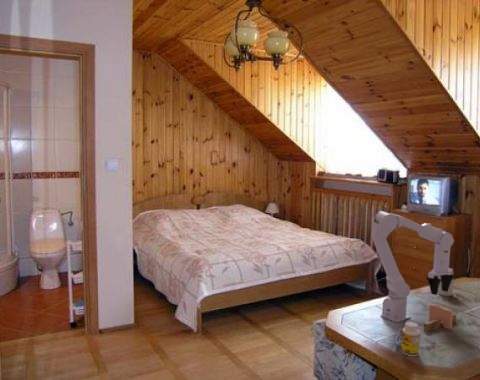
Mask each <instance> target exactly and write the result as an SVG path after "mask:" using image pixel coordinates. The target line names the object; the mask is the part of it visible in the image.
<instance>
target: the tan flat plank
mask: <svg viewBox="0 0 480 380" xmlns="http://www.w3.org/2000/svg"><path fill="white" fill-rule="evenodd" d="M453 312H454V311H453V310H451V309H448V308H445V307H442V306H438V305H436V304H433V303H431V304H429V313H428V322H430V321H432V320H435V319H438V318H439V319H441V322H443V326H442V327H443V328H445V329H448V330H451V329H453V323H452V318H453Z"/></svg>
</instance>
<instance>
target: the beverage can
mask: <svg viewBox="0 0 480 380" xmlns="http://www.w3.org/2000/svg"><path fill="white" fill-rule="evenodd" d="M452 275H454V276H455V274H454V273H453V274H452ZM438 279H441V277H440V276H438ZM453 287H454V279H453V280H452V281H451V283H450V286H449V289H448V291H447V292H445V291H442V286H441V282H440V284H439V287H438V293H437V294H439V295H440V296H444V297H451V296H453V290H454V288H453Z"/></svg>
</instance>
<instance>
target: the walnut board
mask: <svg viewBox="0 0 480 380" xmlns="http://www.w3.org/2000/svg"><path fill="white" fill-rule="evenodd" d="M456 321H457V314H456V313H453V318H452V324H453V323H455V322H456ZM442 327H443V321H441V319H439V318H438V319H435V320H432V321H430V322H429V321H427V322H424V324H423V332H426V333H428V332H430V331H434V330H436V329H440V328H442Z"/></svg>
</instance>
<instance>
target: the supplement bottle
mask: <svg viewBox="0 0 480 380" xmlns="http://www.w3.org/2000/svg"><path fill="white" fill-rule="evenodd" d="M418 327H419V325H418V324H417V323H415V322H412V321H407V322H405V324H404V327H403V328H402V330H401V332H402V333H401V342H400V344H401V345H400V351H401V353H402V354H403V355H405V356H407V355H408V357H416V356H418V355H419V351H420V338H421V337H420V335H421V331H420V330H419V328H418Z"/></svg>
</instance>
